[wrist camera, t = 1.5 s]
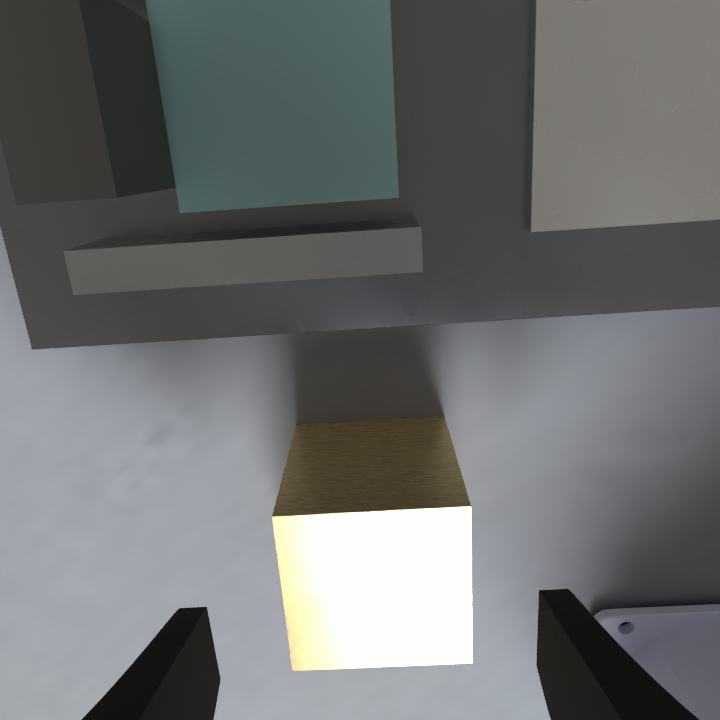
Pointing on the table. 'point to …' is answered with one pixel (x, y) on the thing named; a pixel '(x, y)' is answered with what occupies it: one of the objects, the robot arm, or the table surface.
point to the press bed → (433, 194)
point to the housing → (375, 546)
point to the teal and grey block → (199, 101)
